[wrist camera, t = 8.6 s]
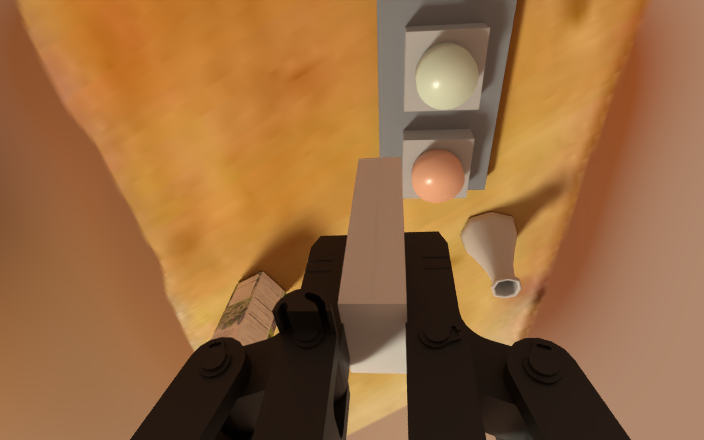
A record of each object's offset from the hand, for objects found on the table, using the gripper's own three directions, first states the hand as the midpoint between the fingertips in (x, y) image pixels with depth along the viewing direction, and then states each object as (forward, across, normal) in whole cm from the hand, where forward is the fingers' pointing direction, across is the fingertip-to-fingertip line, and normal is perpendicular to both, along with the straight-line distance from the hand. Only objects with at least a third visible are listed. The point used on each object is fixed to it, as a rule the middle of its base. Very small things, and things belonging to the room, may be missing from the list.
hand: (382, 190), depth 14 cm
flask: (+28, +12, -26) cm, 40 cm away
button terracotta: (+26, +4, -13) cm, 29 cm away
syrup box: (+28, -22, -35) cm, 50 cm away
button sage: (+26, +5, -3) cm, 27 cm away
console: (+28, +5, -3) cm, 29 cm away
